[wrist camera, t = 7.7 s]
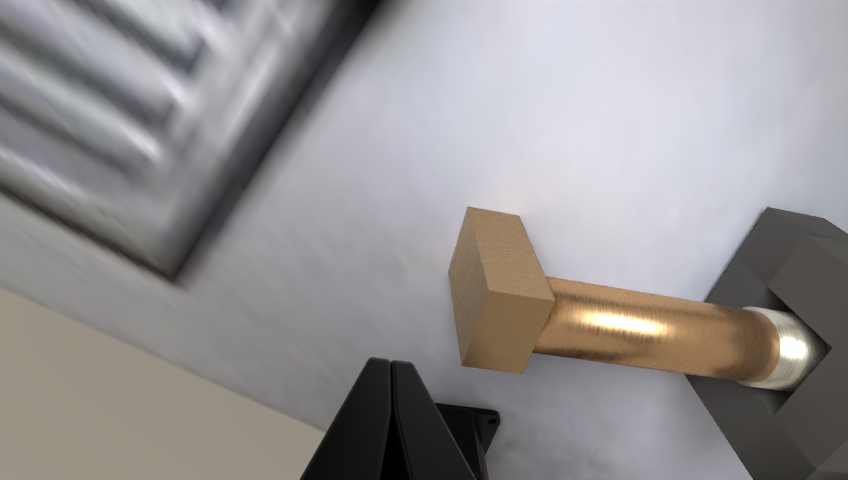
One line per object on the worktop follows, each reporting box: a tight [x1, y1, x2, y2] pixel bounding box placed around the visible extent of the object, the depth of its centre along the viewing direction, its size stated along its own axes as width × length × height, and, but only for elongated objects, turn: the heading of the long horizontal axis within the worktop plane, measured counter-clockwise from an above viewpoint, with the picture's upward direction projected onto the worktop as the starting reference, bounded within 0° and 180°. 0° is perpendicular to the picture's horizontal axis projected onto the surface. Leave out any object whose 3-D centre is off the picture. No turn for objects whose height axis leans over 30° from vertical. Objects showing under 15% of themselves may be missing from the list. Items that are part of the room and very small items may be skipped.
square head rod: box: [448, 207, 833, 392], centre depth 22 cm, size 20×4×6 cm, turn 77°
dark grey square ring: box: [685, 207, 848, 480], centre depth 21 cm, size 3×9×9 cm, turn 168°
